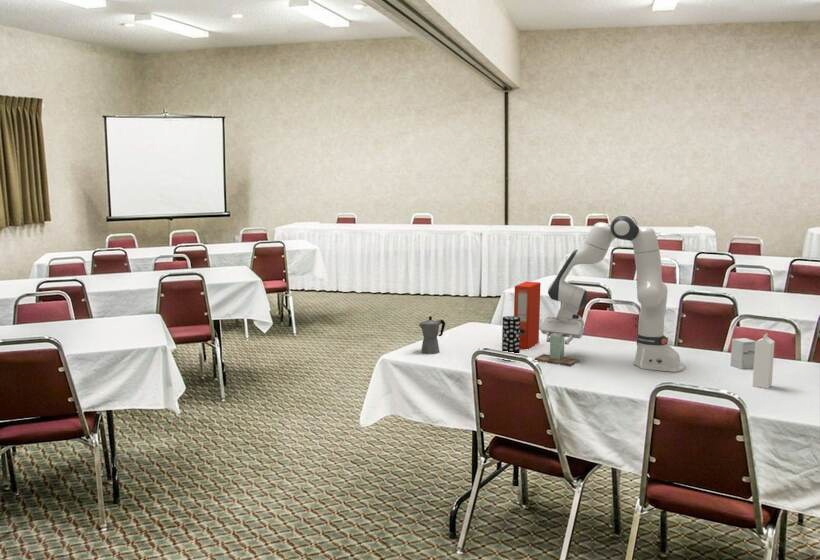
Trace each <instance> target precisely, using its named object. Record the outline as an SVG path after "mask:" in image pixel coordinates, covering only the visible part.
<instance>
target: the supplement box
mask: <svg viewBox="0 0 820 560" xmlns="http://www.w3.org/2000/svg"><path fill="white" fill-rule="evenodd" d="M756 341H757V340H753V339H749V338H746V337H742V338H732V339H731V351H730V352H731V353H730V354H731V355H730V366H731V367H734V368H737V369H739V370H743V369H754V355H755V342H756Z"/></svg>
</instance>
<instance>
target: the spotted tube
mask: <svg viewBox="0 0 820 560" xmlns="http://www.w3.org/2000/svg"><path fill="white" fill-rule="evenodd" d="M501 330H502V334H501V339H502V342H501V344H502V345H501V352H502V351H508V352H514V353H520V354H521V352H520V351H521V349H520V317H516V316H514V315H513V316H512V315H507V316H506V315H505V316H503V317H502V329H501ZM502 360H503V361H505V362H506V361H507V360H504V359H502ZM507 362H508V361H507Z"/></svg>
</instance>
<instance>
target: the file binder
mask: <svg viewBox="0 0 820 560" xmlns="http://www.w3.org/2000/svg"><path fill="white" fill-rule="evenodd" d="M513 297H514V299H513V300H514V303H513V308H514V309H513V316H516V317H520V350H524V349H528V350H529V348H530V349H531V348H533V347H534V346H536V345H538V344H539V343H540V318H541V317H540V316H541V315H540V313H541V312H540V311H541V306H540V305H541V282H537V281H524V282H522V283H519V284H517V285H514V296H513ZM535 344H536V345H535ZM532 346H533V347H532Z"/></svg>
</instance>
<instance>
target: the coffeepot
mask: <svg viewBox="0 0 820 560" xmlns="http://www.w3.org/2000/svg"><path fill="white" fill-rule="evenodd" d="M432 319H433V316H428V320H427V319H426V320H423V321H421V322H420V323H419V324H418V326H419V327H420V328H421V331H422V336H423V339H422V343H421V345H422V346H421V350H420V351H421V353H422V354H425V355H435V354H439V353H440V346H439V341H438V337H442V336H443V333H444V330H445V328H446V321H444V320H443V319H438V320H437V319H436V320H432ZM440 325H441V327H440ZM440 328H441V329H440ZM439 330H440V333H439Z"/></svg>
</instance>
